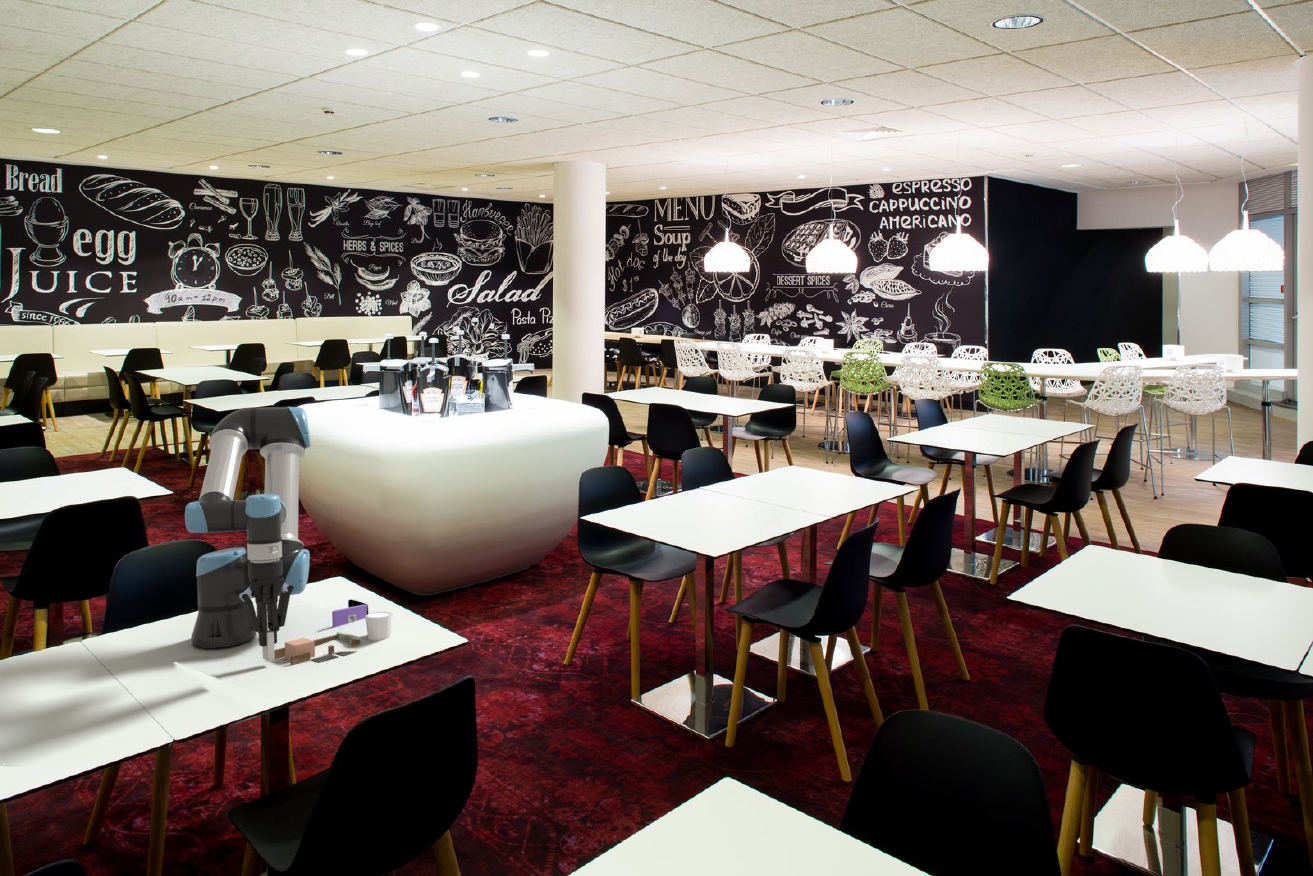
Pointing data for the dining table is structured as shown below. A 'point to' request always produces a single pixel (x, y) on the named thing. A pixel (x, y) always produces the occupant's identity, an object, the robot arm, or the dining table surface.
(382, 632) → the white cup
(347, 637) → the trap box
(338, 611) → the miniature room corner
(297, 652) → the block
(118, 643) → the dining table surface
